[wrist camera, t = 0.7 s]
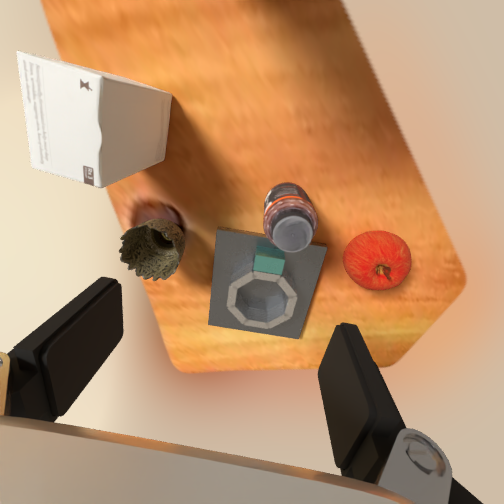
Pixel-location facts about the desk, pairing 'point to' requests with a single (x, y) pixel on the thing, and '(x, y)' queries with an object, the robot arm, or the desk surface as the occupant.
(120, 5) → the desk surface
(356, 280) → the apple
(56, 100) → the skincare box
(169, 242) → the cup
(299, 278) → the hub plate
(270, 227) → the supplement bottle
